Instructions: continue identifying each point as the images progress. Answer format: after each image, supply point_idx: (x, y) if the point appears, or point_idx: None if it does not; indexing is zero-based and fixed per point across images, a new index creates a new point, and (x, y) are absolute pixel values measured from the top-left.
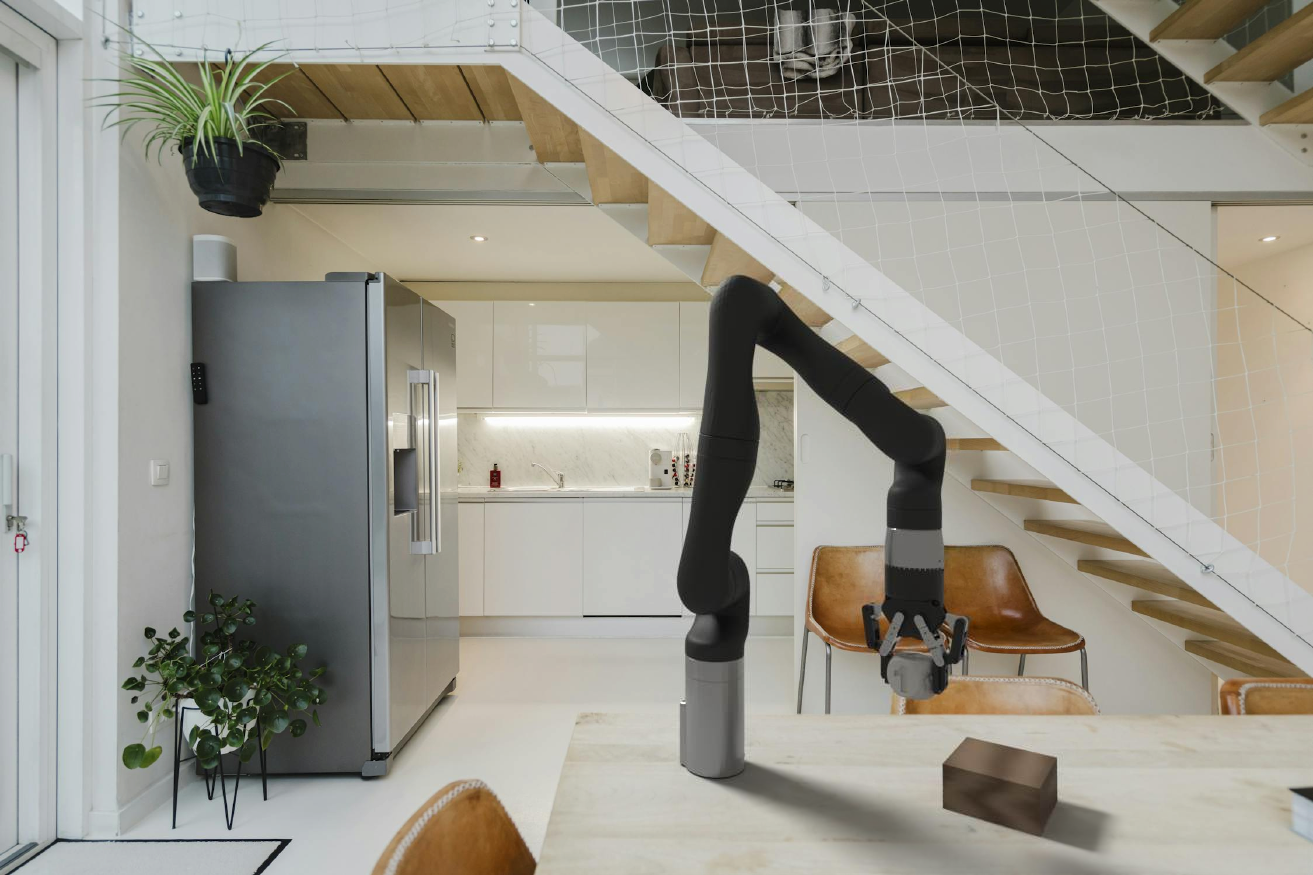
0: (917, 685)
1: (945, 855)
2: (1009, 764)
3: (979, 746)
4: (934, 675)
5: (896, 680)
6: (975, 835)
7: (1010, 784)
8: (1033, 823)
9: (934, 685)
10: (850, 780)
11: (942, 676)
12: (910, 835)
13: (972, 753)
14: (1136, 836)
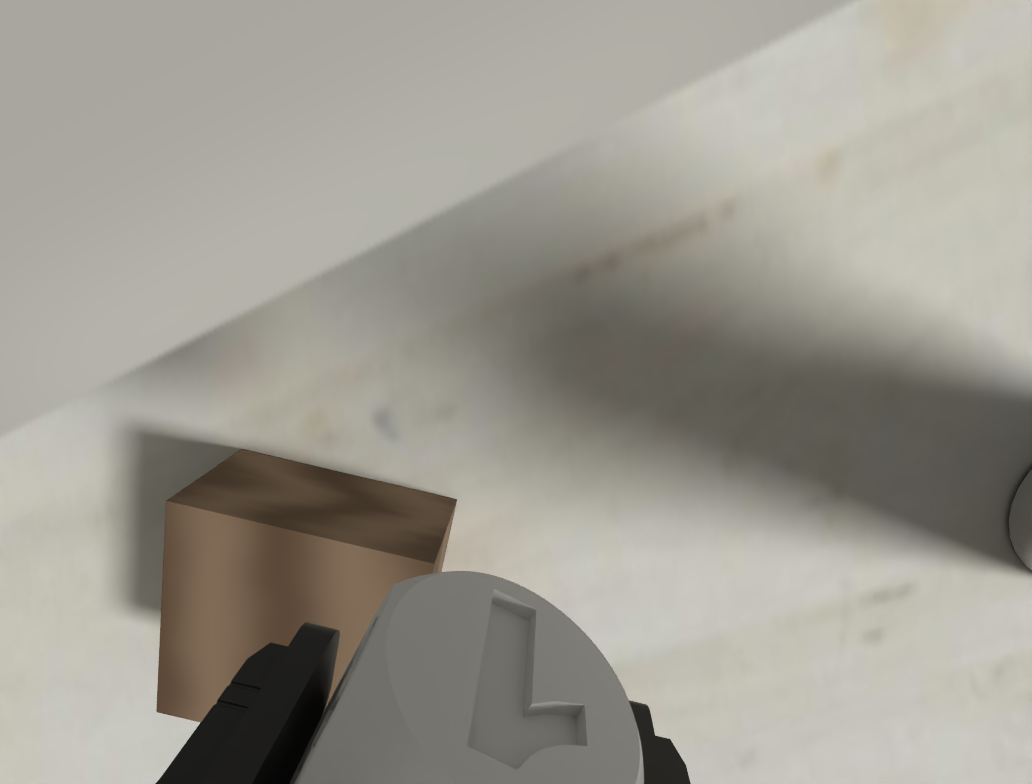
0: (406, 603)
1: (426, 266)
2: (260, 625)
3: None
4: (274, 720)
5: (564, 673)
6: (372, 395)
7: (248, 513)
8: (241, 462)
9: (309, 661)
10: (693, 558)
11: (222, 724)
12: (516, 329)
13: None
14: (70, 528)
